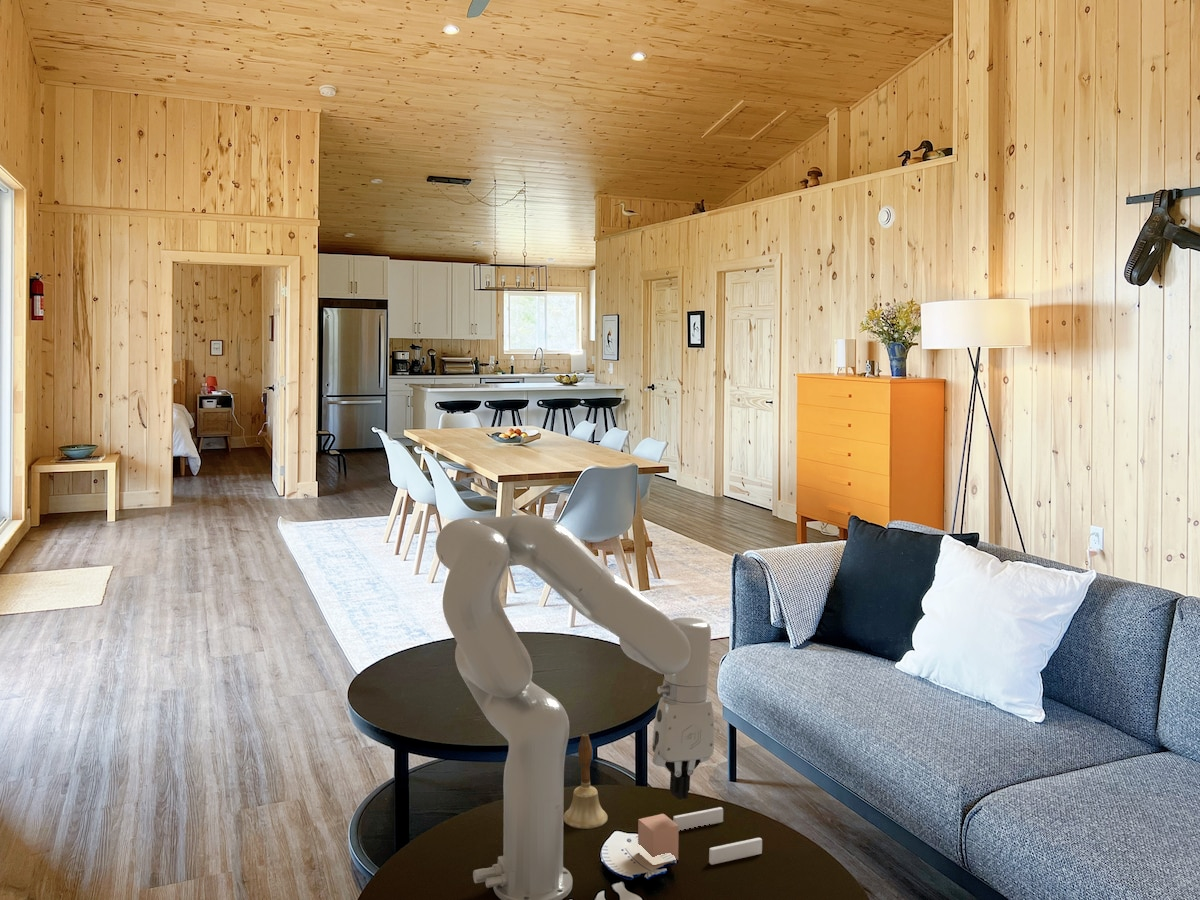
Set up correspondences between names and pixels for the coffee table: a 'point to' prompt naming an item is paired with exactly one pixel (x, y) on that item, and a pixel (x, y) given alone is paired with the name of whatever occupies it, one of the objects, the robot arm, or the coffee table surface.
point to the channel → (723, 851)
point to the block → (658, 835)
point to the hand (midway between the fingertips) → (679, 796)
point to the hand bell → (585, 794)
